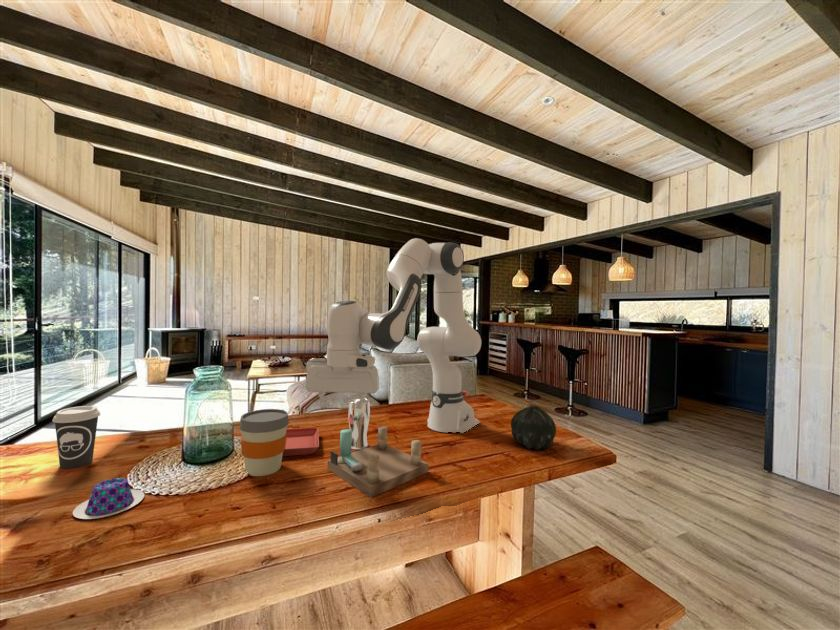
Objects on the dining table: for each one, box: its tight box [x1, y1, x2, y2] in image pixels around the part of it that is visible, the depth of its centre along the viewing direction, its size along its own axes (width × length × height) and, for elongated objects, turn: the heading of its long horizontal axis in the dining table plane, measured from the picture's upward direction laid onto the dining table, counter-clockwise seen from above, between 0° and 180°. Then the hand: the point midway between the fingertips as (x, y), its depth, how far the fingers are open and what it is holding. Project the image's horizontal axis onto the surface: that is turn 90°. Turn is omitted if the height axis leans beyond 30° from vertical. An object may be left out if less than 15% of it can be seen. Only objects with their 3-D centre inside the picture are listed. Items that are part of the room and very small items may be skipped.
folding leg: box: [339, 428, 363, 471], centre depth 97 cm, size 11×3×8 cm, turn 34°
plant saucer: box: [282, 427, 320, 457], centre depth 114 cm, size 18×18×3 cm
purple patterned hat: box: [72, 477, 145, 520], centre depth 79 cm, size 12×12×5 cm
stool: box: [327, 425, 429, 498], centre depth 99 cm, size 20×20×8 cm
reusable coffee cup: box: [238, 408, 289, 477], centre depth 98 cm, size 13×12×15 cm
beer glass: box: [347, 397, 371, 451], centre depth 116 cm, size 7×7×15 cm
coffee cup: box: [52, 405, 101, 470], centre depth 98 cm, size 10×10×15 cm
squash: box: [510, 405, 557, 451], centre depth 122 cm, size 14×15×15 cm
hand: (342, 407), depth 99 cm, fingers open, 8 cm apart
